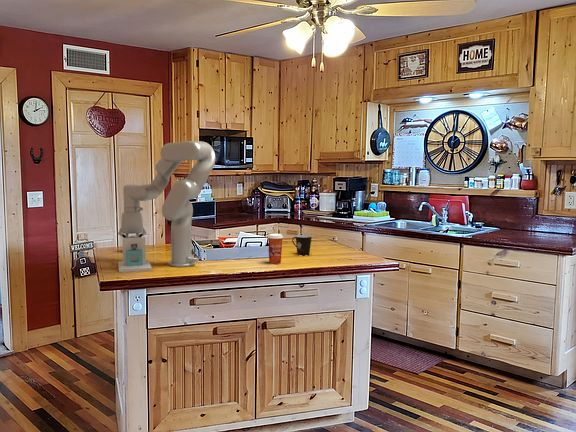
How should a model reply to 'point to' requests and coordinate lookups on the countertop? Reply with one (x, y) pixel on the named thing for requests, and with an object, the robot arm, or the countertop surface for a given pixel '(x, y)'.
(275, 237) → the paper cup
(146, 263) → the bracket
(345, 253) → the countertop surface
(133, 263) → the spacer
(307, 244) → the coffee mug
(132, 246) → the shaft
